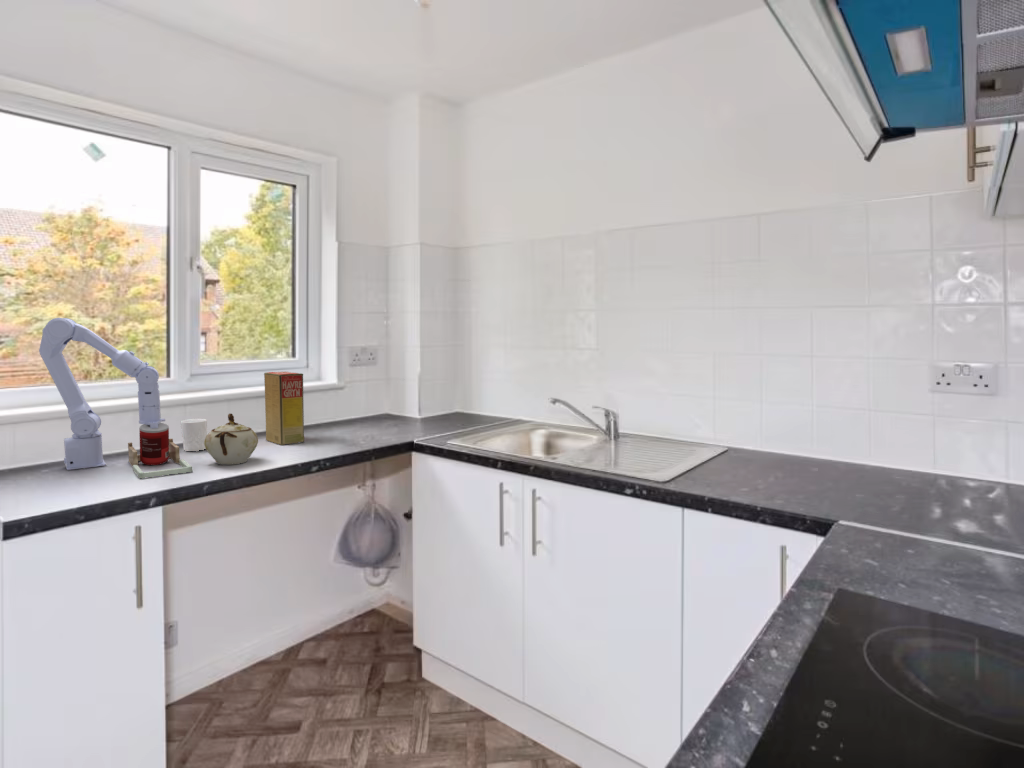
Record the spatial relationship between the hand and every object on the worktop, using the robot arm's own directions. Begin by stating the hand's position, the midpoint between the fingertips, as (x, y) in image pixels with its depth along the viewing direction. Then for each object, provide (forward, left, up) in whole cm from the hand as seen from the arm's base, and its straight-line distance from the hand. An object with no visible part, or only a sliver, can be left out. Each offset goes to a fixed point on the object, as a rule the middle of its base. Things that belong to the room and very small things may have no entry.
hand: (151, 449), depth 189 cm
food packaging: (+43, +6, -4) cm, 43 cm away
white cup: (+14, +9, -4) cm, 17 cm away
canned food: (0, -5, -3) cm, 6 cm away
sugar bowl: (+19, -18, -4) cm, 26 cm away
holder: (0, -5, -3) cm, 6 cm away
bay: (0, -18, -3) cm, 18 cm away
